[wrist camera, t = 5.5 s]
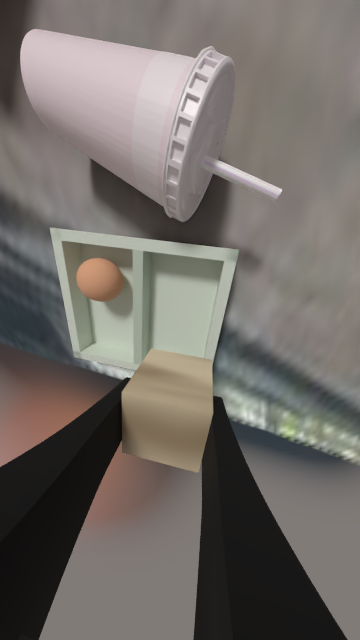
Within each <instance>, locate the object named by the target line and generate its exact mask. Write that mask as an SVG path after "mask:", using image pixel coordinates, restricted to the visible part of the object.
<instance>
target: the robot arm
mask: <svg viewBox="0 0 360 640" xmlns="http://www.w3.org/2000/svg"><path fill="white" fill-rule="evenodd" d="M130 379H131V378H128V377H127V378H125V379H124V380H123V381H122V382H120V383H119V384H118V385H117V386H116V387H115V388H114V389H112V390H111V391H110V392H109V393H108V394H107V395H105V396H104V397H103V398H102V399H101V400H99V401H98V402H97V403H96V404H94V405H93V406H92V407H91V408H89V409H88V410H87V411H85V412H84V413H83V414H81V415H80V416H79V417H77V418H76V419H75V420H73V421H72V422H71V423H69V424H68V425H66V426H65V427H64V428H62V429H61V430H59V431H58V432H56V433H55V434H53V435H52V436H50V437H49V438H48V439H46V440H44V441H43V442H41V443H40V444H38V445H36V446H35V447H33V448H32V449H30V450H28V451H27V452H25V453H24V454H22V455H20V456H19V457H17V458H15V459H14V460H12V461H10V462H8V463H7V464H5V465H3V466H1V467H0V640H39V637H40V634H41V632H42V629H43V626H44V624H45V621H46V618H47V616H48V613H49V610H50V608H51V605H52V602H53V600H54V597H55V594H56V592H57V589H58V586H59V584H60V581H61V578H62V576H63V573H64V571H65V568H66V566H67V563H68V561H69V558H70V556H71V553H72V551H73V548H74V545H75V543H76V540H77V538H78V535H79V533H80V530H81V528H82V526H83V523H84V521H85V518H86V516H87V513H88V511H89V509H90V506H91V504H92V501H93V499H94V497H95V494H96V492H97V489H98V487H99V485H100V483H101V480H102V478H103V476H104V474H105V472H106V470H107V468H108V466H109V464H110V462H111V460H112V458H113V456H114V454H115V452H116V450H117V448H118V446H119V444H120V442H121V441H122V391H123V390H124V388H125V387H126V385H127V384H128V382H129V381H130ZM194 640H347V638H346V637H345V635H344V634H343V632H342V630H341V629H340V627H339V626H338V624H337V623H336V621H335V619H334V618H333V616H332V615H331V613H330V611H329V610H328V608H327V606H326V605H325V603H324V602H323V600H322V598H321V597H320V595H319V593H318V592H317V590H316V589H315V587H314V585H313V584H312V582H311V580H310V579H309V577H308V575H307V574H306V572H305V570H304V569H303V567H302V565H301V563H300V562H299V560H298V558H297V557H296V555H295V553H294V551H293V550H292V548H291V546H290V545H289V543H288V541H287V540H286V538H285V536H284V534H283V533H282V531H281V529H280V527H279V526H278V524H277V522H276V520H275V518H274V516H273V515H272V513H271V511H270V509H269V507H268V505H267V503H266V502H265V499H264V498H263V496H262V494H261V492H260V490H259V488H258V486H257V484H256V482H255V480H254V478H253V476H252V474H251V472H250V469H249V467H248V465H247V463H246V461H245V458H244V456H243V454H242V452H241V449H240V447H239V444H238V442H237V440H236V437H235V435H234V432H233V430H232V427H231V424H230V422H229V419H228V416H227V413H226V410H225V406H224V403H223V399H222V398H221V397H217V396H213V416H212V420H211V424H210V428H209V432H208V437H207V441H206V445H205V449H204V453H203V457H202V519H201V536H200V552H199V568H198V584H197V599H196V613H195V628H194Z"/></svg>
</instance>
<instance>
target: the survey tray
mask: <svg viewBox="0 0 360 640" xmlns="http://www.w3.org/2000/svg"><path fill="white" fill-rule="evenodd" d="M50 231H51V237H52V242H53V247H54V252H55V258H56V263H57V268H58V273H59V279H60V284H61V289H62V295H63V300H64V305H65V310H66V316H67V321H68V326H69V331H70V337H71V342H72V347H73V352H74V357H77V358H81V359H86V360H90V361H95V362H100V363H104V364H109V365H113V366H118V367H123V368H127V369H132V370H137V369H138V367H139V366H140V364H141V363H142V361H143V360H144V358H145V357H146V355H147V354H148V352H149V351H150V349H151V348H153V349H158V350H163V351H168V352H174V353H179V354H184V355H190V356H195V357H200V358H206V359H211V360H212V365H213V360H214V356H215V352H216V347H217V343H218V339H219V335H220V330H221V326H222V322H223V317H224V313H225V309H226V305H227V300H228V296H229V292H230V288H231V283H232V279H233V275H234V270H235V266H236V262H237V258H238V253H239V250H237V249H229V248H220V247H212V246H203V245H195V244H186V243H177V242H169V241H160V240H152V239H143V238H135V237H126V236H117V235H109V234H100V233H92V232H83V231H75V230H66V229H57V228H50ZM92 258H103V259H106V260H109V261H111V262H112V263H114V264H115V265H116V266H117V267H118V268H119V270H120V271H121V273H122V276H123V288H122V290H121V292H120V294H119V295H118V296H117V297H115V298H114V299H112V300H110V301H105V302H99V301H94V300H92V299H90V298H88V297H86V296H85V295H84V294H83V293H82V292H81V290H80V289H79V287H78V285H77V281H76V275H77V271H78V269H79V267H80V266H81V264H82V263H84V262H85V261H87V260H89V259H92Z"/></svg>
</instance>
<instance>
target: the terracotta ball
mask: <svg viewBox="0 0 360 640" xmlns="http://www.w3.org/2000/svg"><path fill="white" fill-rule="evenodd" d="M76 281H77V285H78V287H79V289H80V290H81V292H82V293H83V294H84V295H85V296H86V297H88V298H90V299H92V300H94V301H99V302H105V301H110V300H112V299H114V298H115V297H117V296H118V295H119V294H120V292H121V290H122V288H123V276H122V273H121V271H120V270H119V268H118V267H117V266H116V265H115V264H114V263H112V262H111V261H109V260H106V259H103V258H92V259H89V260H87V261H85V262H84V263H82V264H81V266H80V267H79V269H78V271H77V275H76Z"/></svg>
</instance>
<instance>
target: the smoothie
mask: <svg viewBox="0 0 360 640" xmlns="http://www.w3.org/2000/svg"><path fill="white" fill-rule="evenodd" d="M20 64H21V73H22V78H23V82H24V86H25V89H26V92H27V95H28V98H29V100H30V103H31V105H32V107H33V109H34V111H35V112H36V114H37V116H38V117H39V119H40V120H41V121H42V123H43V124H44V125H45V126H46V127H47V128H48V129H49V130H50V131H51V132H52V133H54V134H55V135H57V136H58V137H60V138H61V139H63V140H64V141H66V142H67V143H69V144H70V145H72V146H73V147H75V148H76V149H78V150H79V151H81V152H82V153H84V154H85V155H87V156H88V157H90V158H91V159H93V160H94V161H96V162H97V163H99V164H100V165H102V166H103V167H105V168H106V169H108V170H109V171H111V172H112V173H113V174H115V175H116V176H118V177H119V178H121V179H122V180H124V181H125V182H127V183H128V184H130V185H131V186H133V187H134V188H136V189H137V190H139V191H140V192H142V193H143V194H144V195H146V196H148V197H149V198H151V199H152V200H154V201H155V202H157V203H158V204H160V205H162V206H163V207H164V210H165V213H166V214H167V215H168V216H169V217H170V218H174V219H177V220H179V221H181V222H185V221H187V220H188V219H189V218H190V217H191V216H192V215H193V214H194V212H195V211H196V209H197V208H198V206H199V204H200V202H201V200H202V198H203V196H204V194H205V192H206V190H207V187H208V185H209V183H210V180H211V178H212V175H213V174H215V175H218V176H220V177H222V178H224V179H226V180H228V181H230V182H232V183H235V184H237V185H239V186H241V187H243V188H245V189H247V190H250V191H252V192H254V193H256V194H258V195H260V196H262V197H265V198H267V199H269V200H271V201H273V202H275V201H276V200H277V198H278V197H279V195H280V193H281V191H282V189H280V188H278V187H275V186H273V185H271V184H269V183H267V182H265V181H263V180H260V179H258V178H256V177H254V176H252V175H250V174H247V173H245V172H243V171H241V170H239V169H237V168H234V167H232V166H230V165H228V164H226V163H224V162H221V161H219V160H218V158H219V155H220V152H221V149H222V145H223V142H224V138H225V135H226V131H227V127H228V123H229V118H230V114H231V109H232V103H233V97H234V89H235V67H234V62H233V60H232V58H231V57H228V56H224V55H222V54H220V53H218V52H217V51H216V50H215V49H214V48H213V47H212V46H209V47H207V48H205V49H203V50H201V52H200V53H199V55H198V56H197V58H192V57H188V56H183V55H178V54H174V53H169V52H164V51H163V52H161V51H155V50H150V49H144V48H139V47H133V46H128V45H122V44H117V43H111V42H106V41H100V40H95V39H89V38H84V37H78V36H73V35H67V34H62V33H56V32H51V31H45V30H40V29H33V30H31V31H29V32H28V33H27V34H26V35H25V37H24V39H23V42H22V46H21V53H20Z"/></svg>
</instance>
